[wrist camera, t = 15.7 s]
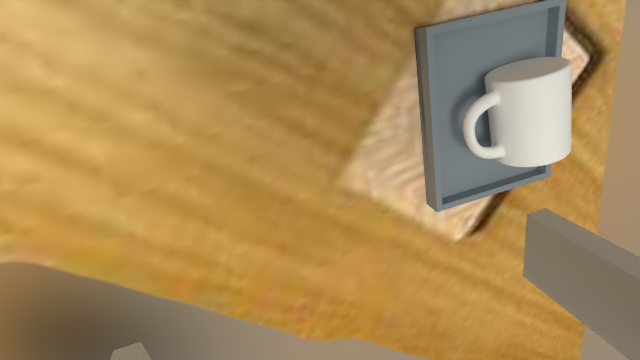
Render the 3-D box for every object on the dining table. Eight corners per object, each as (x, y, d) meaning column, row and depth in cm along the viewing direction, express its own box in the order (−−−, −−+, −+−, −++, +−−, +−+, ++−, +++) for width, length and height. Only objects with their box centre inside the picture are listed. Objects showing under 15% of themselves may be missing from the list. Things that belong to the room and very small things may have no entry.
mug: (528, 54, 41) (592, 57, 34) (531, 131, 45) (589, 148, 38) (438, 90, 40) (485, 100, 33) (450, 165, 44) (494, 189, 37)
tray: (414, 28, 38) (426, 27, 35) (547, -2, 40) (566, -4, 38) (426, 203, 47) (437, 212, 44) (535, 170, 49) (550, 176, 47)
